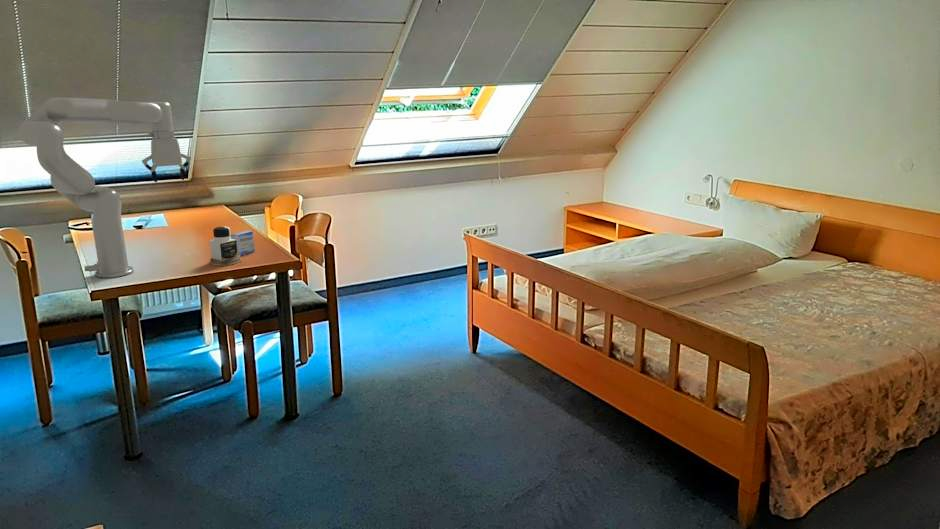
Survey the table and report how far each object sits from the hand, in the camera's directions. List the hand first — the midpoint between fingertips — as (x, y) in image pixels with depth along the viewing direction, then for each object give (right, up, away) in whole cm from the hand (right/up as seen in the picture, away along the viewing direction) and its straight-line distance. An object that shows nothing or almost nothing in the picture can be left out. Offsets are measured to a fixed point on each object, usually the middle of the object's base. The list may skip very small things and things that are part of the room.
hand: (169, 180), depth 267 cm
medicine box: (+25, -28, +12) cm, 39 cm away
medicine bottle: (+21, -30, 0) cm, 37 cm away
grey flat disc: (+22, -31, 0) cm, 38 cm away
